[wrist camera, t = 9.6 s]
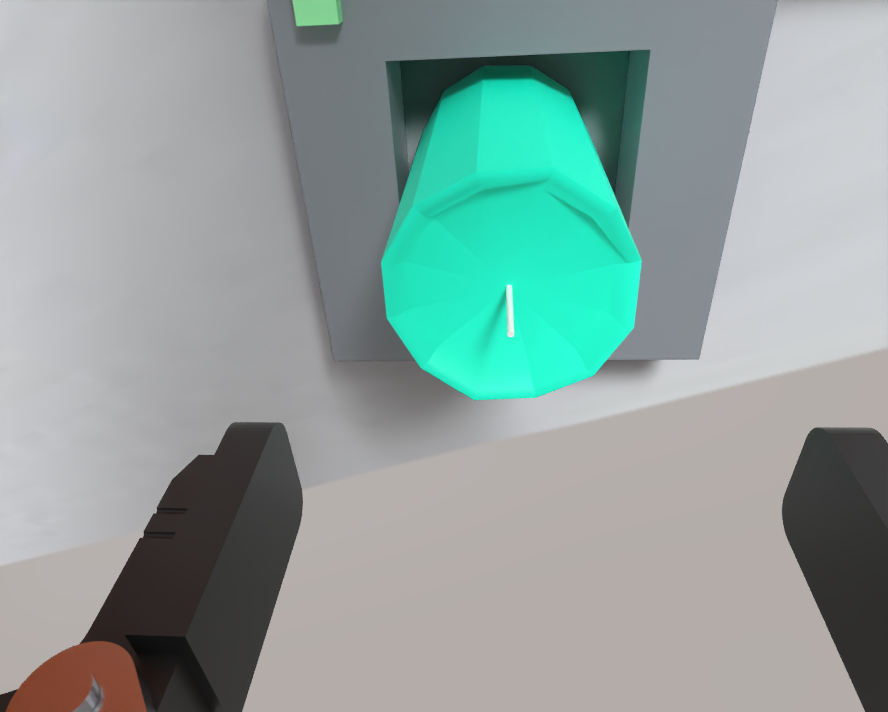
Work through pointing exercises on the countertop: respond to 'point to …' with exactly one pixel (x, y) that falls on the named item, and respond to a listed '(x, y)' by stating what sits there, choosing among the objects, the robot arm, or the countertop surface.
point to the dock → (508, 34)
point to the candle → (509, 242)
